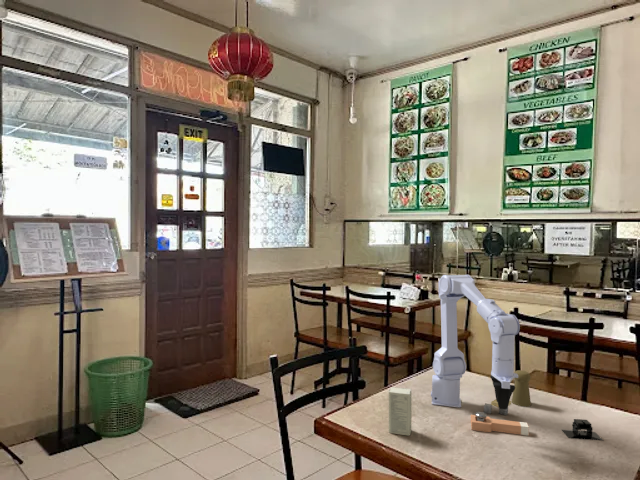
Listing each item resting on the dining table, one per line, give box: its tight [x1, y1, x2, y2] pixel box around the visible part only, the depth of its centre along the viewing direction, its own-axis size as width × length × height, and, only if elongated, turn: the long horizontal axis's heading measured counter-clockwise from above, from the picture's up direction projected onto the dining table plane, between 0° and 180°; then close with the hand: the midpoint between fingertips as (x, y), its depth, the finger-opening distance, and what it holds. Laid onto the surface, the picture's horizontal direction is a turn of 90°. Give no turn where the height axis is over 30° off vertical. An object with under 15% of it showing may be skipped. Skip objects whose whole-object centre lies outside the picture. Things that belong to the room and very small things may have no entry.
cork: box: [511, 369, 532, 408], centre depth 152 cm, size 6×6×11 cm
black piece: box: [561, 418, 605, 442], centre depth 129 cm, size 12×7×5 cm, turn 82°
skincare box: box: [388, 386, 413, 436], centre depth 129 cm, size 6×4×12 cm
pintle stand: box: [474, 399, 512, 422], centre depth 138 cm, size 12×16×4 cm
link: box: [470, 414, 530, 436], centre depth 131 cm, size 16×5×2 cm, turn 75°
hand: (501, 405), depth 126 cm, fingers open, 4 cm apart
